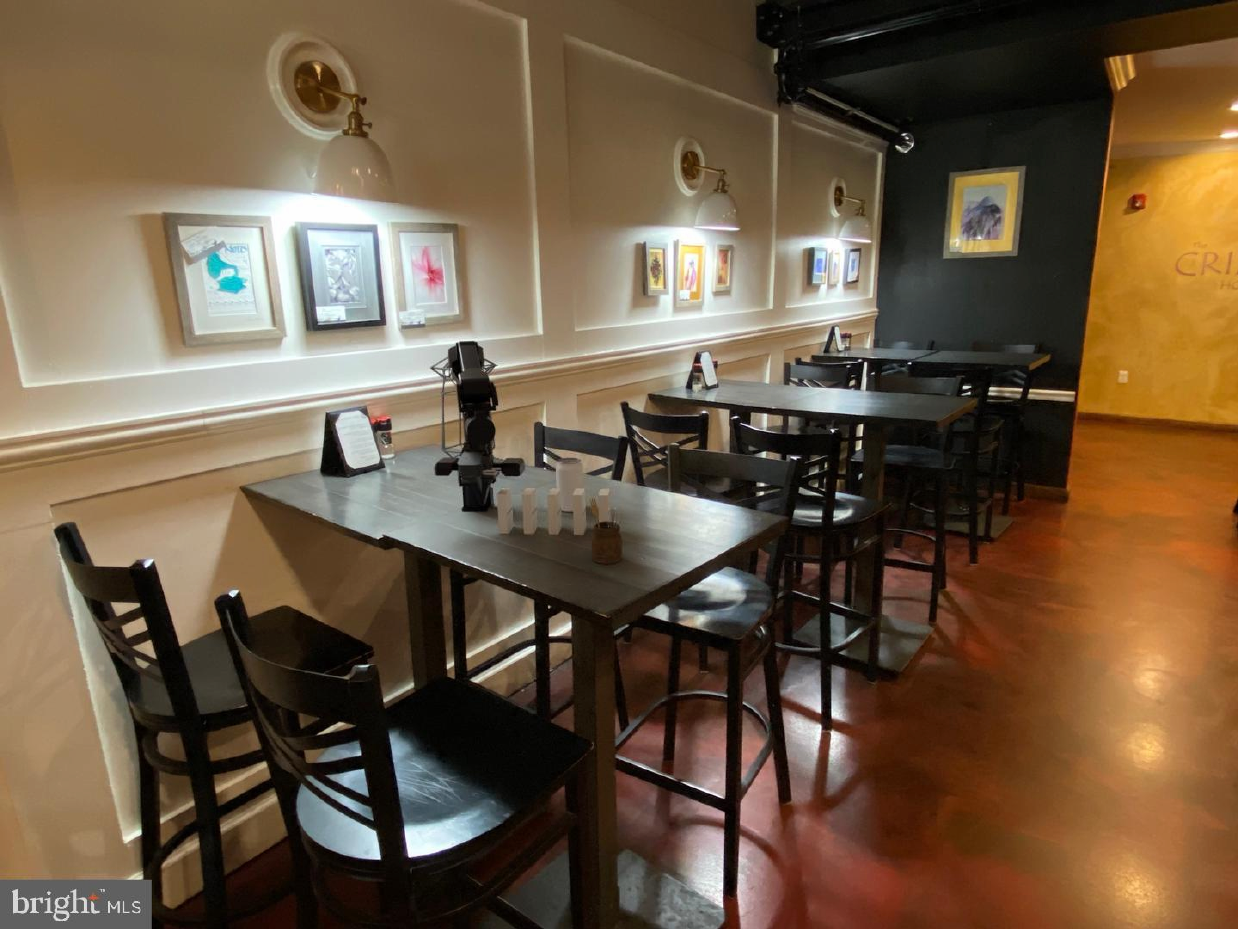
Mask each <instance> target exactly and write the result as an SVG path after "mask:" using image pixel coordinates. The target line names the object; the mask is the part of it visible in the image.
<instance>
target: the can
mask: <svg viewBox="0 0 1238 929" xmlns="http://www.w3.org/2000/svg"><path fill="white" fill-rule="evenodd" d="M555 478H556V483H555V484H556V488H560V493H561V512H565V513H573V493H574V492H575V490H576V489H585V488H584V487H585V486H584V466H583V464H582V459H581V458H578V457H562V458H560V459H558V460H557V464H556V466H555Z"/></svg>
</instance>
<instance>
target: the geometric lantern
mask: <svg viewBox="0 0 1238 929" xmlns="http://www.w3.org/2000/svg"><path fill="white" fill-rule="evenodd" d="M446 360H448V355H447V356H446V357H444V358H442V359H441V360H439V361H438V362H436V363H434V364H433V365H431V366H430V367H429V369H430V370H431V371H433V372H435V373H436V374H437V375H438V376H439V377H441V378H442V389H441V392H440V395H441V451H442V452H443V453H445V455H447V456H448V457H449V458H459V459H460V453H461V451H458V450H449V449H453V448H455V447H456V448H457V447H460V449H461V450H462V449H463V447H462V446H464V442H463V443H462V413H459V412H458V417H459V418H458V420H459V421H458V426H459V427H458V428H459V429H458V430H459V431H458V432H459V435H458V436H459V438H458V439H459V440H458V441H459V442H458V443H457V444H454V445H451V446H448V447H446V434H445V432H446V431H445V430H446V429H445V408H444V407H445V401H444V400H445V396H457V391H456V390H451V391H445V384H446V382H447V381H451V382H452V383H453V385H454V386H455V387H456V383H457V382H456V381H455V379H454V378H453V377H452V368H449V365H448V361H447V362H446V363H445V364H444V365H443V366H442V367H437V366H438V365H440V364H442V363H443V362H444V361H446ZM484 361H485V362H486V363H488V364H484V367H482V371H484V372H486V373H488V375H489V374H490V373H491V372H492V371H493V370H494V369H495V368H496V367H498V364H497V363H494V362H492V361H490V360H489V359H487V358H485V357H484ZM438 370H439V371H438ZM440 371H442V372H440ZM446 371H448V375H446ZM455 392H456V393H455ZM489 413H490V418H491V420H492V421H493V419H492V411H489ZM495 440H496V439H495V437H494V438H493V442H492V451H494V449H496V441H495ZM450 453H452V454H453V453H454V454H457V455H455V456H452V455H451V454H450Z"/></svg>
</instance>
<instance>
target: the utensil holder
mask: <svg viewBox="0 0 1238 929" xmlns="http://www.w3.org/2000/svg"><path fill="white" fill-rule="evenodd" d="M589 501H590V502H589V503H590V507H591V508H590V509H591V513H592V515H593V516H595V521H596V522H595V524H594V525H593V528H592V532H593V534H592V536H591V555H592V556H591V557H592V559H593V561H594V562H596V563H598V564H603V565H610V564H611V565H612V564H616V563H618V562H620V561H621V559H622V557H623V538H622V534H621V533H620V532H621V527H620V524H619V521H617V522H616V520H617V519H620V510H619V508H617V506H616V507H614V506H612V507H610V510H611V509H612V511H611V513H613V512H614V511H613V509H616V510H617V513H615V517H617V514H618V518H617V519H616V518H614V521H612V520H613V519H612V518H613V517H612V514H610V518H611V522H609V521H605V522H599V516H598V515H599V508H598V505H597V502H596V499H595V497H593V498H591V499H589ZM608 515H609V513H608ZM607 517H608V516H607Z"/></svg>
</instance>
